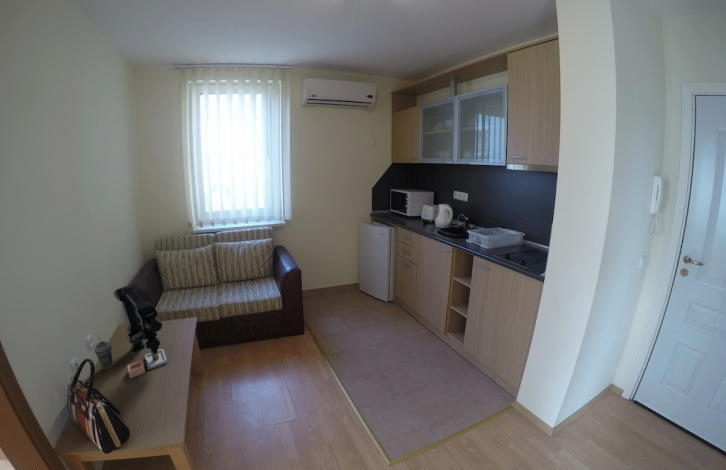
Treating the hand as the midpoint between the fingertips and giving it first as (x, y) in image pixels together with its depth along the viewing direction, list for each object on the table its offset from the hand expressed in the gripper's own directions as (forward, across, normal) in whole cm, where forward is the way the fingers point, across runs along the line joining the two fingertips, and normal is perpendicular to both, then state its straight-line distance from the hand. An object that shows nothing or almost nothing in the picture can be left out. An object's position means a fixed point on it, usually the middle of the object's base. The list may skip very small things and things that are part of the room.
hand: (153, 350), depth 178 cm
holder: (+6, +5, -10) cm, 13 cm away
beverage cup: (+7, -11, -22) cm, 25 cm away
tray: (+6, 0, 0) cm, 6 cm away
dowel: (+6, 0, 0) cm, 6 cm away
